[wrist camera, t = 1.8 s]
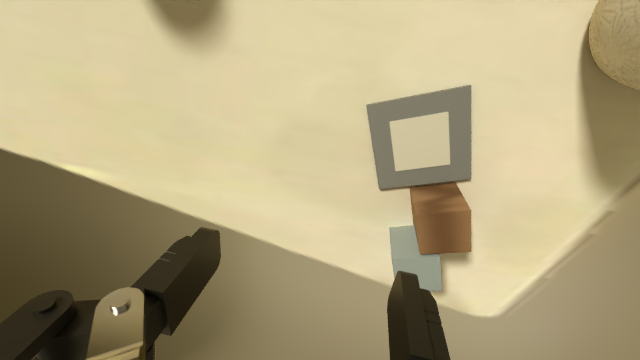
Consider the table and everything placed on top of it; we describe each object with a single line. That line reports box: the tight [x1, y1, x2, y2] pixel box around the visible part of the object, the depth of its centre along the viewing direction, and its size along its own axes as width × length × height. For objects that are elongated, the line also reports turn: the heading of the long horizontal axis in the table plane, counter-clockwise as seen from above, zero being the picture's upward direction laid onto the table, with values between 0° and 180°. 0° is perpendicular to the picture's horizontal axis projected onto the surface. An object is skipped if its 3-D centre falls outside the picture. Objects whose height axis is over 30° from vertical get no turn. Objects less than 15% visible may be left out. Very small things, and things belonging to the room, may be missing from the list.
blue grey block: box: [389, 226, 442, 292], centre depth 34 cm, size 5×5×6 cm
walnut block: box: [410, 182, 471, 254], centre depth 31 cm, size 5×5×6 cm
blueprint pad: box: [366, 85, 471, 189], centre depth 30 cm, size 10×10×1 cm
